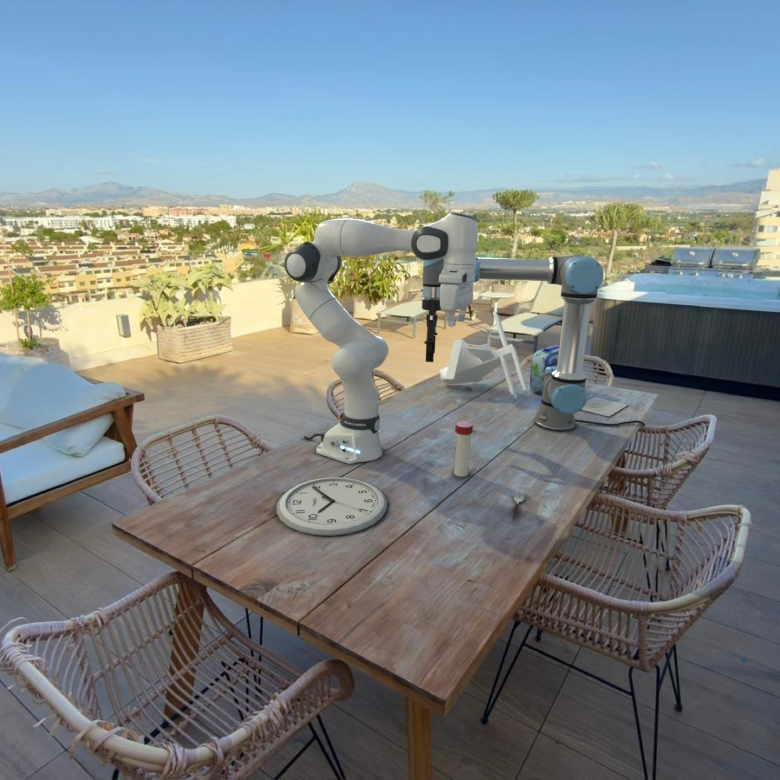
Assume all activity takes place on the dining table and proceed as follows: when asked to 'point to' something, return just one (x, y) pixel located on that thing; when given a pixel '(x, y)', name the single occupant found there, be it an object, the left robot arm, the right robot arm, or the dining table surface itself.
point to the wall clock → (331, 506)
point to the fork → (517, 499)
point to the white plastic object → (482, 362)
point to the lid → (463, 428)
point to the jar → (462, 455)
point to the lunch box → (542, 366)
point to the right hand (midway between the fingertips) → (430, 357)
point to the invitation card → (603, 406)
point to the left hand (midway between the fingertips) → (456, 323)
